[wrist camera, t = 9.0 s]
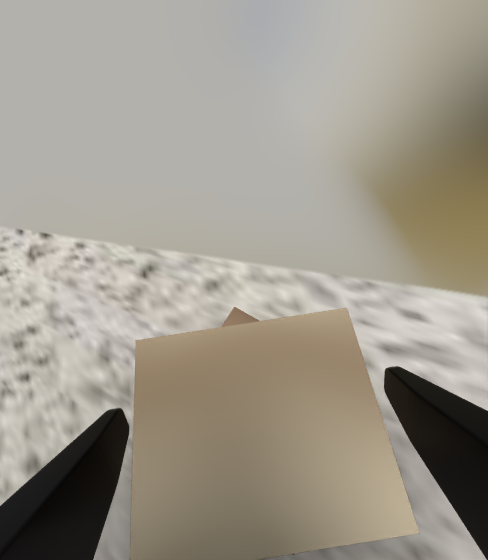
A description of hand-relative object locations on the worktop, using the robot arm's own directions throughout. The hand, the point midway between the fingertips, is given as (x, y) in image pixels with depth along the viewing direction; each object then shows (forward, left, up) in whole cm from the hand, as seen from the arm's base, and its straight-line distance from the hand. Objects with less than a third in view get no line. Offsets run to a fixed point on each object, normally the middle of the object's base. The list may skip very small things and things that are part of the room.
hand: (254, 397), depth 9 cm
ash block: (0, 0, -9) cm, 9 cm away
